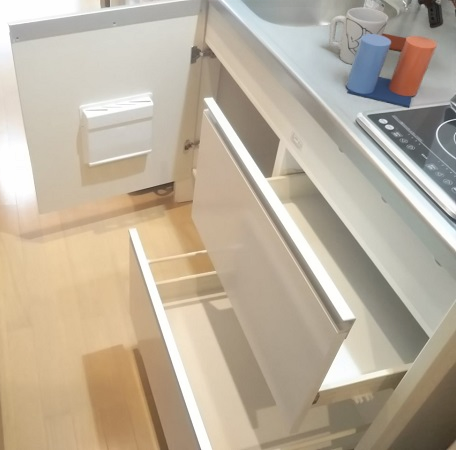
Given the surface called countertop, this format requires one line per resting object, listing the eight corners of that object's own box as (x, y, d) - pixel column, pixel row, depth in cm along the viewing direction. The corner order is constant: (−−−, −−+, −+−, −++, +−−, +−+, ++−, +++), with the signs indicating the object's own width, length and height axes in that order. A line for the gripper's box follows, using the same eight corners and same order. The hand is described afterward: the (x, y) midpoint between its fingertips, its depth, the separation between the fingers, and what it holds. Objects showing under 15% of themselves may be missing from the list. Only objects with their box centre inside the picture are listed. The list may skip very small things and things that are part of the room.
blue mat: (413, 86, 108) (414, 84, 108) (409, 107, 101) (409, 106, 101) (355, 73, 111) (355, 71, 111) (347, 93, 105) (347, 91, 104)
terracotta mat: (407, 39, 126) (408, 38, 126) (404, 52, 120) (404, 50, 120) (365, 31, 129) (366, 29, 129) (360, 43, 123) (361, 41, 123)
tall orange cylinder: (418, 87, 107) (437, 39, 100) (415, 98, 103) (436, 50, 96) (390, 80, 109) (407, 33, 102) (386, 92, 105) (404, 44, 98)
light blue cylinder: (376, 84, 107) (392, 37, 100) (372, 96, 103) (389, 48, 96) (348, 78, 109) (363, 31, 102) (343, 89, 105) (358, 41, 98)
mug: (316, 56, 117) (327, 11, 110) (331, 44, 122) (343, 0, 115) (365, 71, 112) (380, 25, 105) (378, 58, 117) (394, 14, 110)
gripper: (436, -74, 91) (446, 20, 92) (482, -68, 97) (492, 20, 99) (398, -54, 97) (408, 33, 99) (444, -49, 104) (453, 32, 105)
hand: (450, 26), depth 99 cm, fingers open, 8 cm apart
